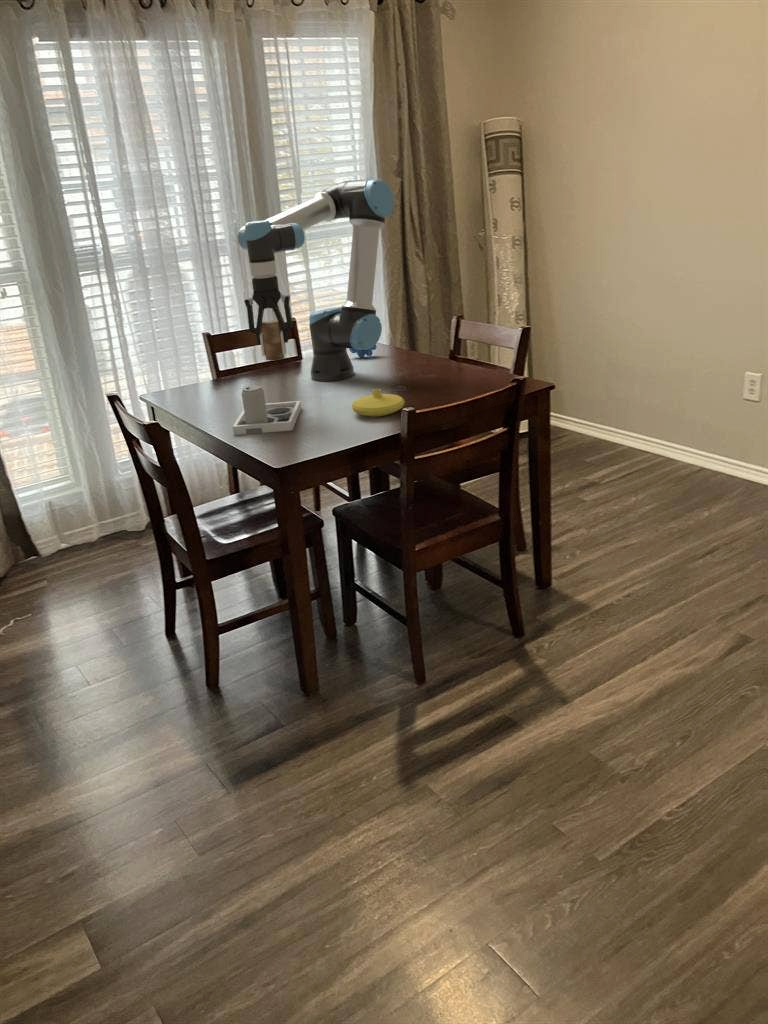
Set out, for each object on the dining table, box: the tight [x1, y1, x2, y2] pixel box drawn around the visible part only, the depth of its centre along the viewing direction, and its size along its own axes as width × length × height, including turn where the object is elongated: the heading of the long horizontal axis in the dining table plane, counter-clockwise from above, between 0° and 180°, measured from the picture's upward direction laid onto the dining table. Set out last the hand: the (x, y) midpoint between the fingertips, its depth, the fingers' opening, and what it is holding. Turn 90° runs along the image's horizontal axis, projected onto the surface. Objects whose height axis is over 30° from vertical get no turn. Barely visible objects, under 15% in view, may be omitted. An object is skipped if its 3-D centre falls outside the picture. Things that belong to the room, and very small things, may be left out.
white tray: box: [232, 400, 302, 436], centre depth 257 cm, size 17×22×2 cm
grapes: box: [348, 343, 377, 358], centre depth 322 cm, size 12×7×12 cm, turn 85°
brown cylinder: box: [261, 320, 285, 362], centre depth 262 cm, size 6×6×11 cm
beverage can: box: [241, 384, 269, 425], centre depth 251 cm, size 6×6×12 cm
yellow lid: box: [351, 388, 405, 418], centre depth 255 cm, size 16×16×7 cm
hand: (274, 354), depth 263 cm, fingers closed on brown cylinder, 6 cm apart
